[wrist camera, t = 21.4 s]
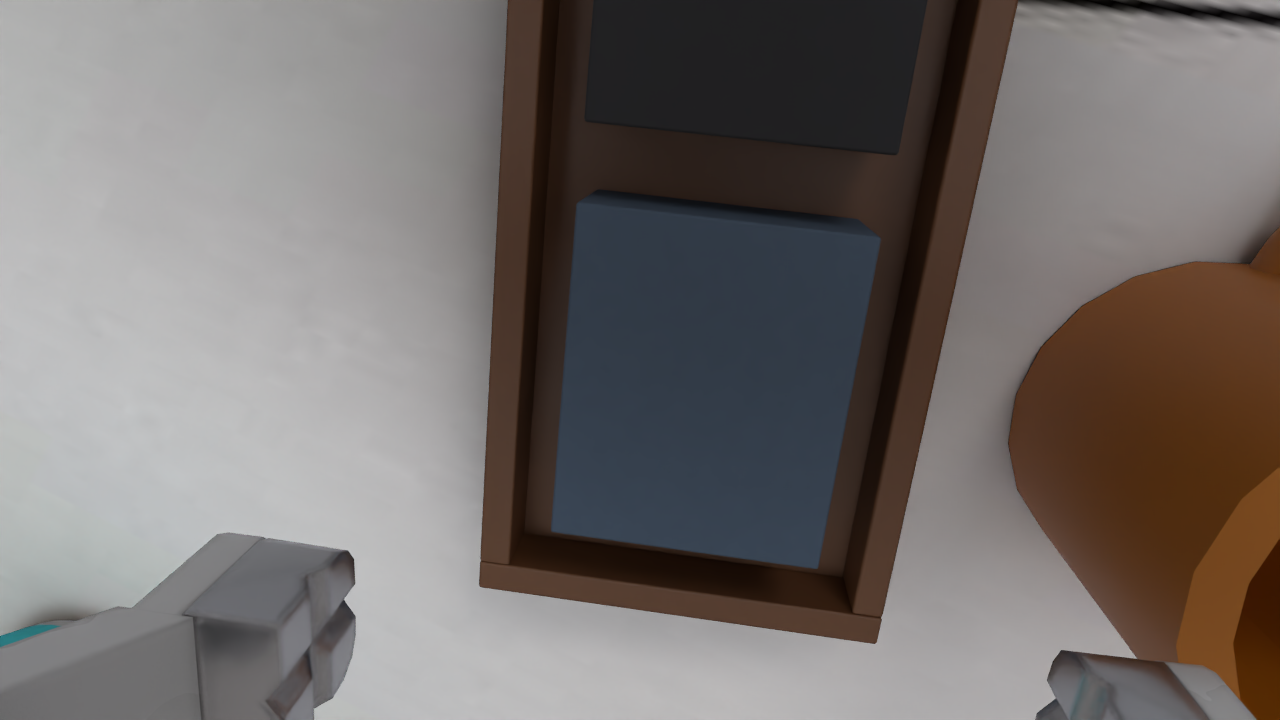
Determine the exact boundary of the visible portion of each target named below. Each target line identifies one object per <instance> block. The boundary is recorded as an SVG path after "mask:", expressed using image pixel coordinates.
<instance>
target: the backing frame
mask: <svg viewBox="0 0 1280 720" xmlns="http://www.w3.org/2000/svg"><path fill="white" fill-rule="evenodd" d="M1017 4H1018V0H928V1H927V6H926V12H925V17H924V22H923V27H922V33H921V38H920V43H919V48H918V54H917V59H916V64H915V69H914V75H913V80H912V85H911V90H910V96H909V101H908V106H907V111H906V117H905V122H904V127H903V132H902V138H901V143H900V148H899V153H898V154H897V155H885V154H876V153H867V152H858V151H849V150H839V149H830V148H821V147H812V146H803V145H793V144H784V143H775V142H766V141H757V140H747V139H738V138H729V137H720V136H711V135H702V134H692V133H683V132H674V131H665V130H656V129H646V128H637V127H628V126H619V125H610V124H600V123H591V122H586V121H585V119H584V115H585V102H586V89H587V76H588V64H589V51H590V38H591V25H592V12H593V0H508V9H507V30H506V50H505V70H504V91H503V111H502V131H501V152H500V172H499V192H498V212H497V233H496V253H495V273H494V294H493V314H492V334H491V355H490V375H489V395H488V416H487V436H486V456H485V476H484V497H483V517H482V537H481V562H480V579H479V585H480V587H484V588H491V589H498V590H505V591H512V592H519V593H526V594H533V595H540V596H547V597H553V598H560V599H567V600H574V601H581V602H588V603H595V604H602V605H609V606H616V607H623V608H630V609H637V610H643V611H650V612H657V613H664V614H671V615H678V616H685V617H692V618H699V619H706V620H713V621H720V622H727V623H734V624H740V625H747V626H754V627H761V628H768V629H775V630H782V631H789V632H796V633H803V634H810V635H817V636H824V637H831V638H837V639H844V640H851V641H858V642H865V643H872V644H876V642H877V639H878V634H879V630H880V625H881V621H882V619H881V616H882V614H883V610H884V606H885V601H886V597H887V592H888V588H889V583H890V579H891V574H892V570H893V565H894V561H895V556H896V552H897V547H898V543H899V538H900V533H901V529H902V524H903V520H904V515H905V511H906V506H907V502H908V497H909V493H910V488H911V484H912V479H913V475H914V470H915V466H916V461H917V457H918V452H919V448H920V443H921V438H922V434H923V429H924V425H925V420H926V416H927V411H928V407H929V402H930V398H931V393H932V389H933V384H934V380H935V375H936V371H937V366H938V362H939V357H940V353H941V348H942V343H943V339H944V334H945V330H946V325H947V321H948V316H949V312H950V307H951V303H952V298H953V294H954V289H955V285H956V280H957V276H958V271H959V267H960V262H961V258H962V253H963V248H964V244H965V239H966V235H967V230H968V226H969V221H970V217H971V212H972V208H973V203H974V199H975V194H976V190H977V185H978V181H979V176H980V172H981V167H982V163H983V158H984V153H985V149H986V144H987V140H988V135H989V131H990V126H991V122H992V117H993V113H994V108H995V104H996V99H997V95H998V90H999V86H1000V81H1001V77H1002V72H1003V68H1004V63H1005V58H1006V54H1007V49H1008V45H1009V40H1010V36H1011V31H1012V27H1013V22H1014V18H1015V13H1016V9H1017ZM598 189H600V190H609V191H618V192H626V193H635V194H644V195H653V196H661V197H670V198H679V199H687V200H696V201H705V202H714V203H722V204H731V205H740V206H748V207H757V208H766V209H775V210H783V211H792V212H801V213H809V214H818V215H827V216H836V217H844V218H853V219H858V220H860V221H861V222H862V223H863V224H864V225H866V226H867V227H868V228H869V229H870V230H872V231H873V232H874V233H875V234H876V235H878V236H879V237H880V238H881V242H880V248H879V253H878V258H877V263H876V268H875V274H874V279H873V284H872V289H871V295H870V300H869V305H868V310H867V316H866V321H865V326H864V331H863V336H862V342H861V347H860V352H859V357H858V363H857V368H856V373H855V378H854V383H853V389H852V394H851V399H850V404H849V410H848V415H847V420H846V425H845V431H844V436H843V441H842V446H841V451H840V457H839V462H838V467H837V472H836V478H835V483H834V488H833V493H832V499H831V504H830V509H829V514H828V519H827V525H826V530H825V535H824V540H823V546H822V551H821V556H820V561H819V566H818V568H817V569H812V568H805V567H798V566H791V565H784V564H777V563H769V562H762V561H755V560H748V559H741V558H734V557H727V556H720V555H712V554H705V553H698V552H691V551H684V550H677V549H670V548H663V547H656V546H648V545H641V544H634V543H627V542H620V541H613V540H606V539H599V538H591V537H584V536H577V535H570V534H563V533H556V532H552V531H551V521H552V509H553V496H554V483H555V470H556V458H557V445H558V432H559V420H560V407H561V394H562V382H563V369H564V356H565V343H566V331H567V318H568V305H569V293H570V280H571V267H572V254H573V242H574V229H575V216H576V205H577V203H578V202H579V201H581V200H582V199H584V198H585V197H587V196H588V195H590V194H591V193H593V192H594V191H596V190H598Z"/></svg>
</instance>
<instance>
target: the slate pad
mask: <svg viewBox="0 0 1280 720" xmlns="http://www.w3.org/2000/svg"><path fill="white" fill-rule="evenodd" d="M880 242H881V238H880V237H879V236H878V235H876V234H875V233H874V232H873V231H872V230H870V229H869V228H868V227H867V226H866V225H864V224H863V223H862V222H861V221H860V220H858V219H853V218H844V217H836V216H827V215H818V214H809V213H801V212H792V211H783V210H775V209H766V208H757V207H748V206H740V205H731V204H722V203H714V202H705V201H696V200H687V199H679V198H670V197H661V196H653V195H644V194H635V193H626V192H618V191H609V190H600V189H598V190H596V191H594V192H593V193H591V194H590V195H588V196H587V197H585V198H584V199H582V200H581V201H579V202H578V203H577V205H576V216H575V229H574V242H573V254H572V267H571V280H570V293H569V305H568V318H567V331H566V343H565V356H564V369H563V382H562V394H561V407H560V420H559V432H558V445H557V458H556V470H555V483H554V496H553V509H552V521H551V531H552V532H556V533H563V534H570V535H577V536H584V537H591V538H599V539H606V540H613V541H620V542H627V543H634V544H641V545H648V546H656V547H663V548H670V549H677V550H684V551H691V552H698V553H705V554H712V555H720V556H727V557H734V558H741V559H748V560H755V561H762V562H769V563H777V564H784V565H791V566H798V567H805V568H812V569H817V568H818V566H819V561H820V556H821V551H822V546H823V540H824V535H825V530H826V525H827V519H828V514H829V509H830V504H831V499H832V493H833V488H834V483H835V478H836V472H837V467H838V462H839V457H840V451H841V446H842V441H843V436H844V431H845V425H846V420H847V415H848V410H849V404H850V399H851V394H852V389H853V383H854V378H855V373H856V368H857V363H858V357H859V352H860V347H861V342H862V336H863V331H864V326H865V321H866V316H867V310H868V305H869V300H870V295H871V289H872V284H873V279H874V274H875V268H876V263H877V258H878V253H879V248H880Z"/></svg>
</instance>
